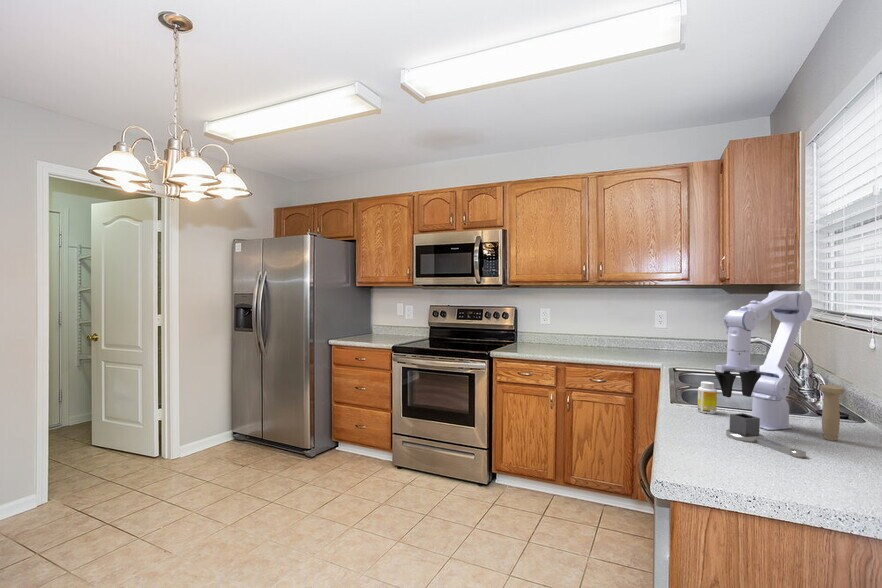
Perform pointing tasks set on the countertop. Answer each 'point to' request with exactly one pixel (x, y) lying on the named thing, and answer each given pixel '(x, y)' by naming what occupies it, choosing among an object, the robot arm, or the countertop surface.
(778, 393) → the robot arm
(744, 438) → the ratchet
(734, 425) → the square metal tube
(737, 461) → the countertop surface
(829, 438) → the handle
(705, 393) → the supplement bottle
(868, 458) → the countertop surface
